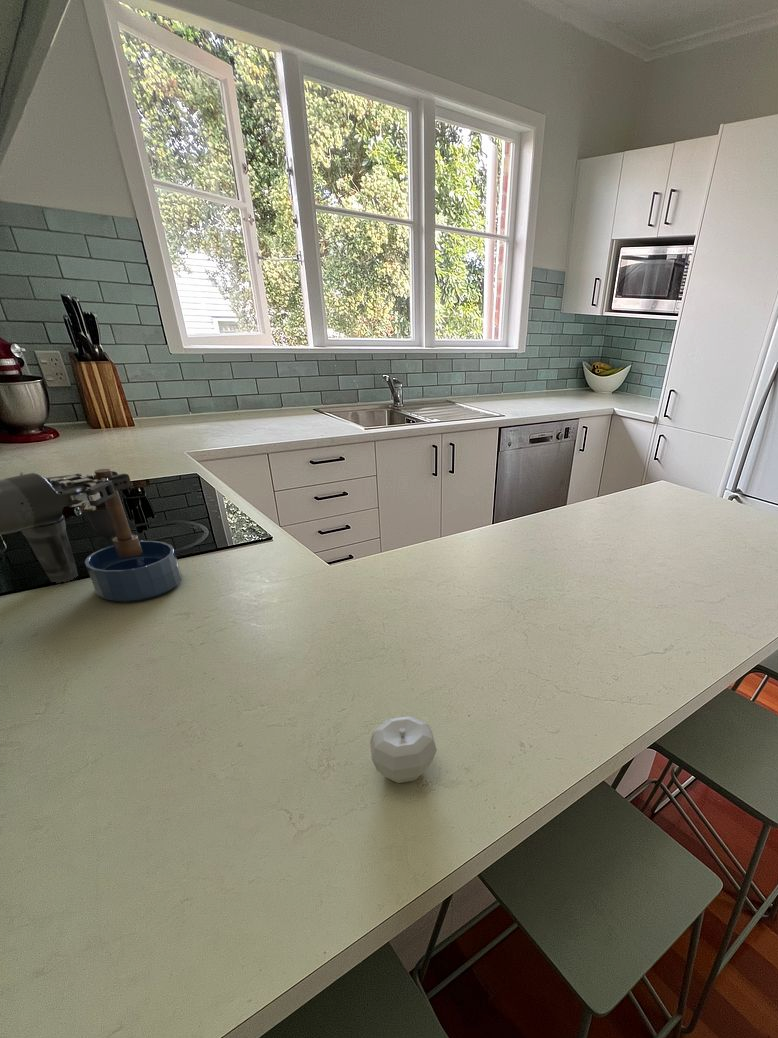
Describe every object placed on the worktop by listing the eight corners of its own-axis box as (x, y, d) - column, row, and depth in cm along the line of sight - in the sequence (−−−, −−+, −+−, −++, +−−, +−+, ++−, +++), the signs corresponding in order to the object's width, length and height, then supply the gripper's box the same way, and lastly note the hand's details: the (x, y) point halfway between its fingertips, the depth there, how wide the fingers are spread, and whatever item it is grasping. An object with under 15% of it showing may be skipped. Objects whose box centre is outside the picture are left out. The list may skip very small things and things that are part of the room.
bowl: (81, 604, 96) (67, 571, 93) (120, 571, 108) (109, 540, 105) (164, 604, 98) (154, 571, 94) (193, 571, 110) (185, 540, 106)
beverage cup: (42, 589, 101) (-6, 482, 90) (40, 575, 106) (-5, 471, 95) (88, 580, 104) (47, 476, 94) (84, 567, 109) (45, 466, 99)
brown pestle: (113, 557, 97) (83, 473, 89) (124, 549, 101) (96, 467, 93) (136, 557, 98) (109, 473, 90) (146, 549, 101) (120, 467, 93)
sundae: (100, 547, 118) (75, 478, 110) (134, 544, 120) (112, 476, 112) (91, 559, 113) (64, 487, 105) (128, 556, 115) (104, 485, 107)
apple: (416, 739, 70) (414, 699, 66) (450, 777, 64) (450, 735, 61) (359, 765, 65) (354, 724, 62) (391, 807, 60) (387, 765, 57)
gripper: (32, 486, 77) (143, 461, 90) (-24, 473, 82) (90, 451, 95) (52, 536, 81) (156, 505, 94) (-2, 521, 86) (104, 493, 99)
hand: (122, 478), depth 95 cm, fingers closed on brown pestle, 2 cm apart
